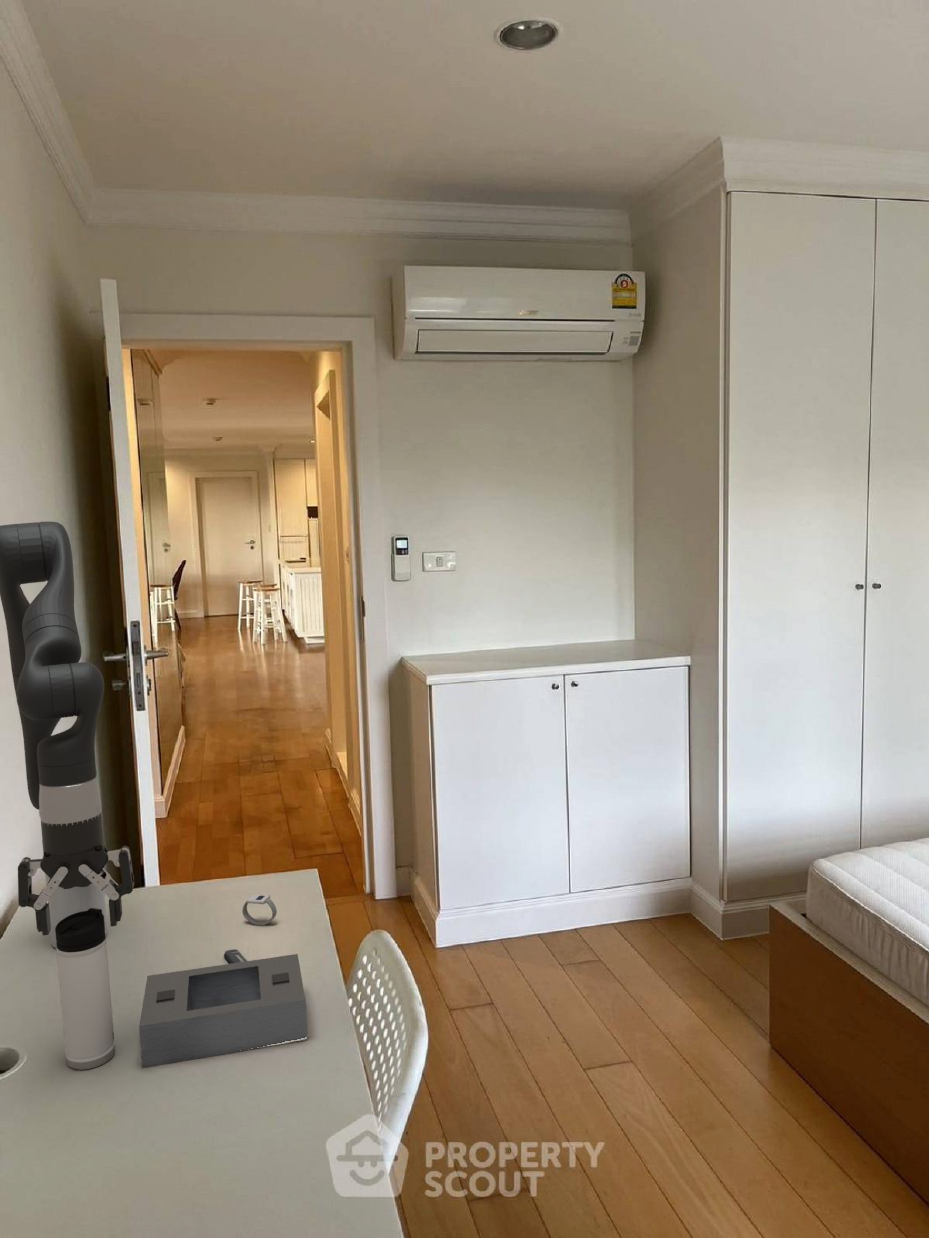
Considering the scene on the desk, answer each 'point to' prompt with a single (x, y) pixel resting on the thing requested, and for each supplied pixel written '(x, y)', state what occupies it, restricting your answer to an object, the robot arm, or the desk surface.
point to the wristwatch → (259, 900)
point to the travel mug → (85, 989)
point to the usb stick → (234, 956)
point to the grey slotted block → (221, 1010)
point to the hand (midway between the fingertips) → (80, 928)
